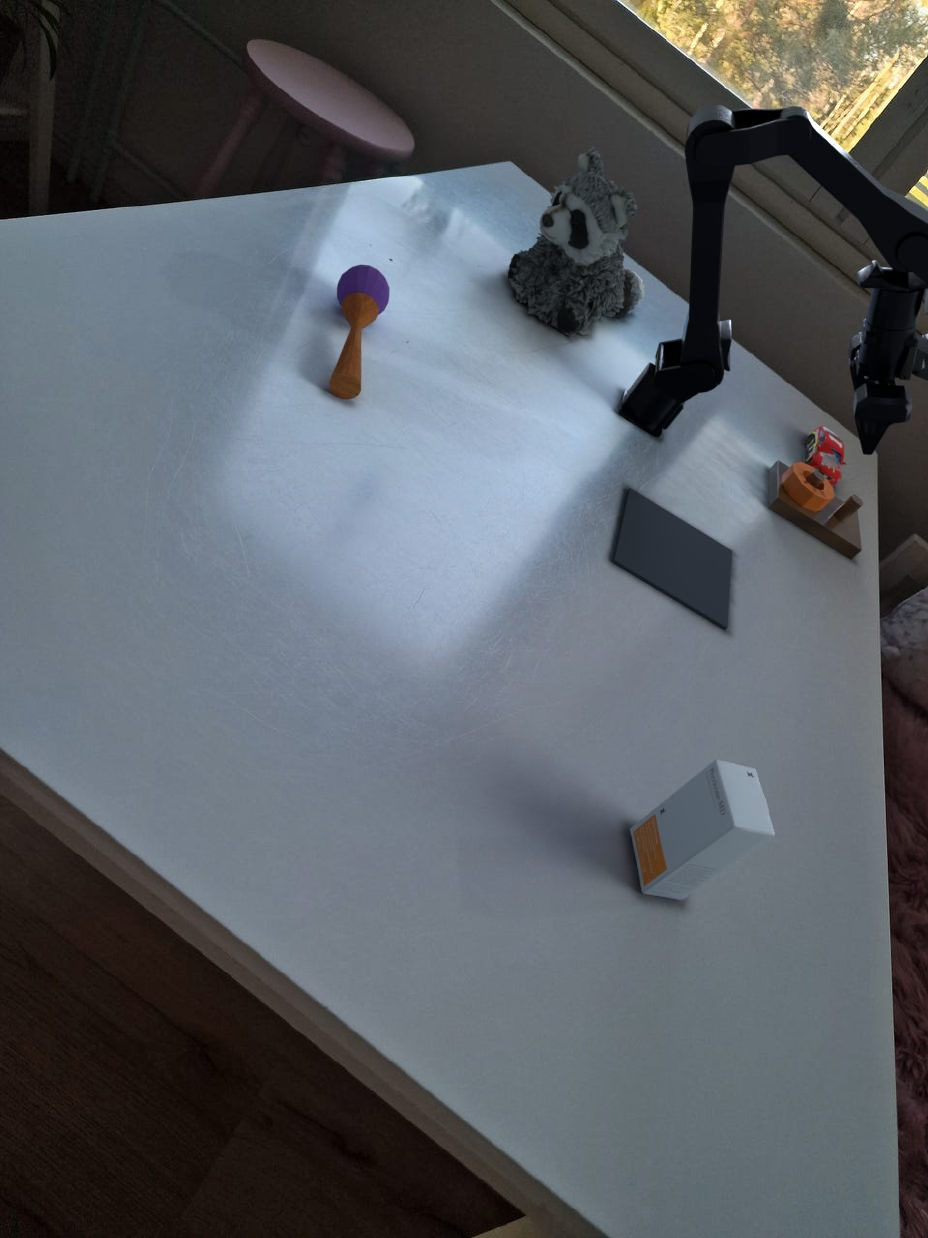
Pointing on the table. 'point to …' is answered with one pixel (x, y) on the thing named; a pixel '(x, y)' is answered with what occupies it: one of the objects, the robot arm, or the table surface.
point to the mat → (674, 558)
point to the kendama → (357, 323)
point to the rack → (818, 513)
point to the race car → (825, 453)
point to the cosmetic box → (701, 830)
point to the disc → (806, 487)
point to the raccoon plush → (580, 254)
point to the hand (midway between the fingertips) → (865, 435)
